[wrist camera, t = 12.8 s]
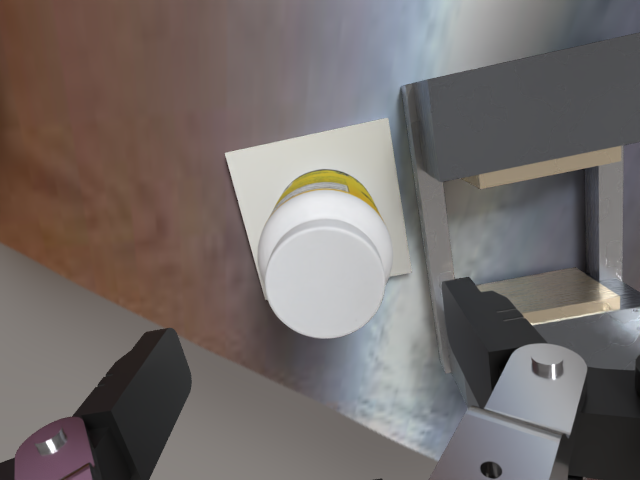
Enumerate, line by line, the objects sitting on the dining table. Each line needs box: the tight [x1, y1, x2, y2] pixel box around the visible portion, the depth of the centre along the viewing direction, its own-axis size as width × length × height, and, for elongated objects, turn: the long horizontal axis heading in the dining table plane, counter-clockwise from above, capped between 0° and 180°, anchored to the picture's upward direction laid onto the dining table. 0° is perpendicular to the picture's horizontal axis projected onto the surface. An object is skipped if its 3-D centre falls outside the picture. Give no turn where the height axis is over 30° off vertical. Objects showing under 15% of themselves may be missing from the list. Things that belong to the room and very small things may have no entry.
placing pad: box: [225, 118, 412, 300], centre depth 27 cm, size 10×10×1 cm
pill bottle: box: [258, 169, 393, 339], centre depth 21 cm, size 6×6×11 cm
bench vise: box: [401, 33, 640, 408], centre depth 25 cm, size 19×12×5 cm, turn 12°
